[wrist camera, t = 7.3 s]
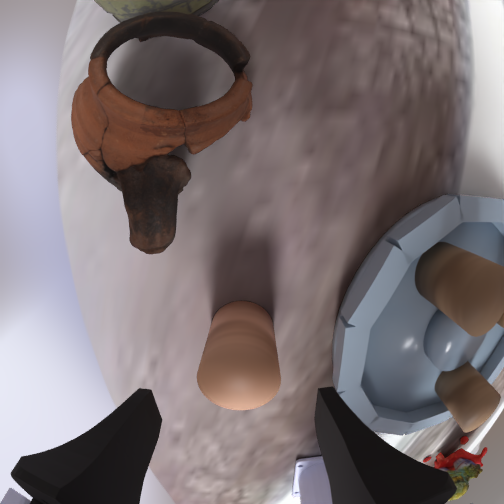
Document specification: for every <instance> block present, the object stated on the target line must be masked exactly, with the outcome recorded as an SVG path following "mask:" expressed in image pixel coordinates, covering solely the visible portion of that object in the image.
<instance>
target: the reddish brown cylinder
mask: <svg viewBox="0 0 504 504" xmlns="http://www.w3.org/2000/svg"><path fill="white" fill-rule="evenodd" d="M197 382H198V385H199V388H200V390H201V391H202V393H203V394H204V395H205V396H206V397H207V398H208V399H209V400H210V401H212V402H213V403H215V404H217V405H219V406H221V407H224V408H228V409H233V410H249V409H254V408H257V407H260V406H262V405H264V404H266V403H267V402H269V401H270V400H271V399H272V398H273V397H274V396H275V395H276V394H277V392H278V390H279V388H280V384H281V376H280V369H279V362H278V355H277V348H276V341H275V334H274V327H273V322H272V319H271V317H270V315H269V314H268V312H267V311H266V310H265V309H264V308H262V307H261V306H259V305H257V304H255V303H252V302H248V301H235V302H231V303H228V304H226V305H225V306H223V307H222V308H220V309H219V310H218V311H217V313H216V314H215V316H214V318H213V320H212V324H211V327H210V331H209V334H208V338H207V341H206V344H205V348H204V351H203V355H202V358H201V362H200V365H199V369H198V372H197Z"/></svg>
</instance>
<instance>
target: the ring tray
mask: <svg viewBox="0 0 504 504" xmlns="http://www.w3.org/2000/svg"><path fill="white" fill-rule="evenodd" d="M437 242H447V243H449V244H452V245H454V246H457V247H459V248H462V249H464V250H467V251H469V252H471V253H474V254H476V255H479V256H481V257H483V258H485V259H488V260H490V261H492V262H494V263H497V264H499V265H501V266H503V267H504V199H499V198H492V197H482V196H471V195H464V194H447V195H442V196H441V197H438V198H435V199H433V200H431V201H428V202H426V203H423V204H422V205H420V206H418V207H417V208H415V209H414V210H412V211H410V212H409V213H407V214H406V215H405V216H404V217H403V218H401V219H400V220H399V221H398V222H396V223H395V224H394V225H393V226H392V227H391V228H390V229H389V230H388V231H387V232H386V233H385V234H384V235H383V236H382V237H381V238H380V240H379V241H378V242H377V243H376V245H375V246H374V247H373V248H372V250H371V251H370V252H369V253H368V255H367V256H366V258H365V259H364V261H363V263H362V264H361V266H360V267H359V269H358V270H357V272H356V274H355V276H354V278H353V280H352V281H351V283H350V285H349V287H348V289H347V291H346V294H345V296H344V299H343V301H342V304H341V306H340V309H339V313H338V316H337V320H336V323H335V328H334V334H333V341H332V362H333V377H332V379H333V383H334V386H335V389H336V391H337V393H338V394H339V395H340V397H341V398H342V399H343V400H344V402H345V403H346V404H347V405H348V406H349V408H350V409H351V410H352V411H353V412H354V413H355V414H356V415H357V416H358V417H359V418H360V420H361V421H362V422H363V423H364V424H365V425H366V426H368V427H369V428H370V429H371V430H372V431H375V432H381V433H388V434H396V435H403V434H404V433H405V435H407V434H410V433H413V432H416V431H419V430H422V429H425V428H428V427H431V426H433V425H436V424H439V423H441V422H444V421H446V420H448V419H449V417H450V418H452V417H453V416H452V414H451V413H450V411H449V410H448V409H447V407H446V406H445V404H444V403H443V402H442V400H441V399H440V397H439V396H438V395H437V393H436V392H435V389H434V388H435V383H436V380H437V379H438V377H439V375H440V374H441V373H442V371H451V370H454V369H457V368H458V367H460V366H462V365H463V364H465V363H466V362H467V361H468V362H469V363H470V364H471V365H472V366H473V367H474V368H475V369H476V370H477V371H478V372H479V373H480V374H481V375H482V376H483V377H484V378H485V379H486V380H487V381H488V382H489V383H490V384H492V383H493V382H494V380H495V379H496V377H497V376H498V375H499V373H500V372H501V370H502V369H503V367H504V328H503V327H501V326H500V325H498V324H497V323H496V325H495V326H494V327H493V328H492V329H491V330H490V331H488V332H487V333H485V334H484V335H481V336H478V337H474V336H471V335H469V334H468V333H467V332H466V331H465V330H463V329H462V328H461V327H460V326H459V325H457V324H456V323H455V322H454V321H453V320H451V319H450V318H449V317H448V316H447V315H445V314H444V313H443V312H442V311H440V310H439V309H438V308H437V307H435V306H434V305H433V304H432V303H430V302H429V301H428V300H427V299H425V298H424V297H423V296H422V295H420V293H419V292H418V290H417V288H416V285H415V270H416V266H417V263H418V261H419V259H420V257H421V255H422V254H423V253H424V252H426V251H427V250H428V249H430V248H431V247H432V246H433V245H435V244H436V243H437Z"/></svg>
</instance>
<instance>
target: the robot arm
mask: <svg viewBox="0 0 504 504" xmlns="http://www.w3.org/2000/svg"><path fill="white" fill-rule="evenodd" d="M161 423H162V418H161V415H160V412H159V410H158V407H157V404H156V402H155V399H154V396H153V393H152V390H150V389H141V388H139V389H138V390H137V391H136V392H134V393H133V394H132V395H131V396H130V397H129V398H128V399H127V400H126V401H125V402H123V403H122V404H121V405H120V406H119V407H118V408H117V409H116V410H114V411H113V412H112V413H111V414H110V415H109V416H107V417H106V418H105V419H103V420H102V421H101V422H100V423H98V424H97V425H96V426H94V427H93V428H91V429H90V430H89V431H87V432H85V433H84V434H82V435H80V436H79V437H77V438H75V439H73V440H71V441H69V442H67V443H65V444H63V445H61V446H58V447H56V448H53V449H51V450H47V451H45V452H41V453H37V454H32V455H28V456H23V457H21V458H20V460H19V461H18V463H17V464H16V466H15V467H14V469H13V470H12V472H11V476H12V478H13V479H14V480H15V481H16V482H17V483H18V484H19V485H20V486H21V487H22V488H23V489H24V490H25V491H26V492H27V493H28V494H29V495H30V496H32V497H33V499H32V501H30V500H28V499H27V498H26V497H24V496H23V495H21V494H19V493H18V492H17V491H15V490H13V489H12V488H9V490H8V491H7V493H6V495H5V496H4V498H3V500H2V502H1V503H0V504H139V503H140V496H141V491H142V486H143V481H144V477H145V474H146V471H147V469H148V466H149V463H150V460H151V458H152V455H153V452H154V449H155V446H156V444H157V441H158V438H159V433H160V428H161ZM315 426H316V433H317V439H318V443H319V446H320V450H321V454H322V456H320V457H312V458H303V459H298V460H297V461H296V464H295V473H294V481H293V489H292V496H293V497H300V502H301V504H445V503H446V502H447V501H448V500H449V499H450V498H451V497H452V496H453V495H454V494H455V492H456V490H457V487H456V485H455V483H454V481H453V479H452V478H451V476H450V475H449V473H448V472H446V471H443V470H440V469H437V468H434V467H431V466H428V465H425V464H423V463H421V462H419V461H416V460H414V459H413V458H411V457H409V456H407V455H405V454H404V453H402V452H400V451H398V450H397V449H395V448H394V447H392V446H391V445H389V444H388V443H387V442H385V441H384V440H383V439H381V438H380V437H379V436H378V435H376V434H375V433H374V432H373V431H372V430H371V429H370V428H369V427H368V426H366V425H365V424H364V423H363V422H362V421H361V420H360V418H359V417H358V416H357V415H356V414H355V413H354V412H353V411H352V410H351V409H350V408H349V406H348V405H347V404H346V403H345V402H344V400H343V399H342V398H341V397H340V395H339V394H338V393H337V391H336V390H335V389H334V388H333V387H326V388H318V394H317V403H316V411H315ZM471 504H473V503H471Z"/></svg>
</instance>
